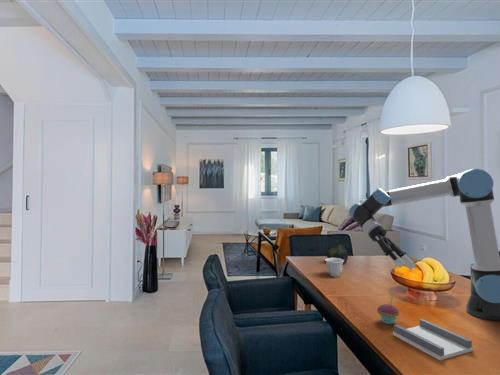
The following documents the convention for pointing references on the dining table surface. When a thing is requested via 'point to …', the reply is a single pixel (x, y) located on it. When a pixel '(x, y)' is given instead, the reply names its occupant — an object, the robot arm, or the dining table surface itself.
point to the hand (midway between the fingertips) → (408, 267)
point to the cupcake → (388, 312)
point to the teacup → (334, 266)
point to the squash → (338, 253)
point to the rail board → (434, 340)
